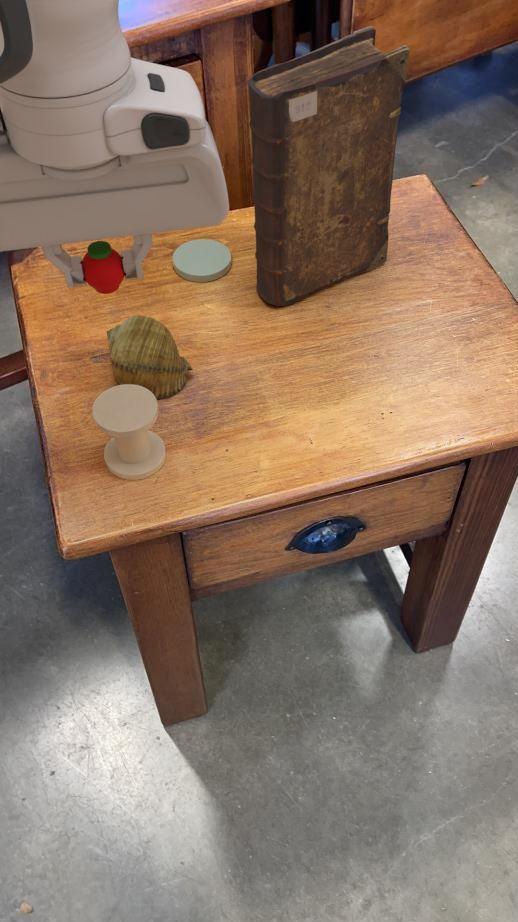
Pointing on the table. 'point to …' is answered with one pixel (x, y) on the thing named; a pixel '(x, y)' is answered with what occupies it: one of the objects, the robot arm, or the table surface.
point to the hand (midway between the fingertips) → (106, 278)
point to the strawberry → (103, 267)
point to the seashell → (147, 356)
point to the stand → (129, 431)
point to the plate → (202, 260)
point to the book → (324, 164)
